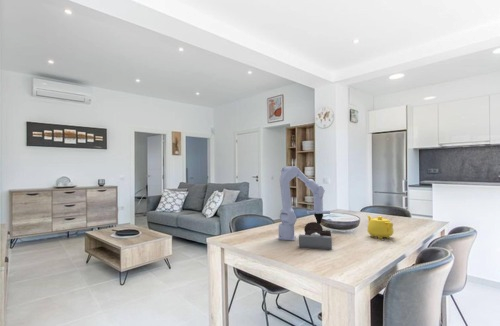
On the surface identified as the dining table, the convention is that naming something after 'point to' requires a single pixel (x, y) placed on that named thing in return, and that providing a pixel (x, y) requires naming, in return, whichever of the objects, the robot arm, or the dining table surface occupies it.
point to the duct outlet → (315, 241)
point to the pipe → (315, 229)
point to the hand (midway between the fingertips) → (318, 225)
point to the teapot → (380, 227)
